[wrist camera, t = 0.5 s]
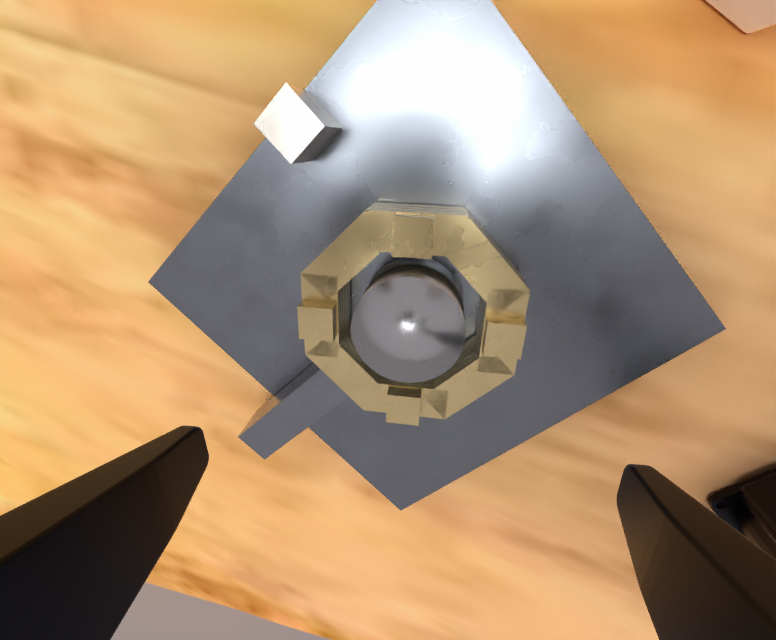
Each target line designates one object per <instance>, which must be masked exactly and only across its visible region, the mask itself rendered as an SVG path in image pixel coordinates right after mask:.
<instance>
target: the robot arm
mask: <svg viewBox="0 0 776 640" xmlns="http://www.w3.org/2000/svg"><path fill="white" fill-rule="evenodd" d="M208 460H209V454H208V450H207V446H206V442H205V438H204V434H203V431H202V429H201V428H199V427H195V426H180V427H178V428H176V429H174V430H172V431H170V432H168V433H166V434H164V435H162V436H160V437H158V438H156V439H154V440H152V441H150V442H148V443H146V444H144V445H142V446H140V447H138V448H136V449H134V450H132V451H130V452H128V453H126V454H124V455H122V456H120V457H118V458H116V459H114V460H112V461H110V462H108V463H106V464H104V465H102V466H100V467H98V468H96V469H94V470H92V471H90V472H88V473H86V474H83V475H81V476H79V477H77V478H75V479H73V480H71V481H69V482H67V483H65V484H63V485H61V486H59V487H57V488H55V489H53V490H51V491H49V492H47V493H45V494H43V495H41V496H39V497H37V498H35V499H33V500H31V501H29V502H27V503H25V504H23V505H21V506H19V507H17V508H15V509H13V510H11V511H9V512H7V513H5V514H3V515H1V516H0V640H110V639H111V638H112V636H113V634H114V633H115V631H116V629H117V628H118V626H119V624H120V623H121V621H122V619H123V618H124V616H125V614H126V613H127V611H128V609H129V608H130V606H131V604H132V602H133V601H134V599H135V598H136V596H137V594H138V593H139V591H140V589H141V587H142V586H143V584H144V583H145V581H146V579H147V578H148V576H149V574H150V573H151V571H152V569H153V568H154V566H155V564H156V563H157V561H158V559H159V558H160V556H161V554H162V553H163V551H164V549H165V548H166V546H167V544H168V543H169V541H170V539H171V538H172V536H173V534H174V532H175V531H176V529H177V527H178V525H179V523H180V521H181V519H182V517H183V515H184V513H185V511H186V509H187V507H188V505H189V502H190V500H191V498H192V496H193V494H194V492H195V490H196V488H197V486H198V484H199V482H200V480H201V478H202V475H203V473H204V471H205V469H206V467H207V464H208ZM708 504H709V505H710V507H711V508H712V509H713V511H714V512H715V513H716V514H717V515H718V516H717V515H715V514H714V513H713V512H711V511H710V510H709V509H707V508H706V507H705V506H703V505H702V504H701V503H699V502H698V501H697V500H695V499H694V498H693V497H691V496H690V495H689V494H687V493H686V492H685V491H683V490H682V489H681V488H679V487H678V486H677V485H675V484H674V483H673V482H671V481H670V480H669V479H667V478H666V477H665V476H663V475H662V474H661V473H659V472H658V471H657V470H655V469H654V468H652V467H650V466H647V465H635V464H629V465H627V466H626V467H625V469H624V471H623V475H622V479H621V482H620V486H619V489H618V493H617V507H618V511H619V515H620V518H621V522H622V526H623V529H624V533H625V537H626V540H627V544H628V548H629V551H630V555H631V559H632V562H633V566H634V570H635V573H636V577H637V580H638V583H639V587H640V590H641V593H642V595H643V598H644V601H645V604H646V606H647V609H648V612H649V614H650V617H651V619H652V622H653V625H654V627H655V630H656V632H657V635H658V637H659V640H776V469H775V470H772V471H770V472H767V473H765V474H763V475H760V476H758V477H755V478H753V479H751V480H748V481H746V482H743V483H741V484H739V485H736V486H734V487H731V488H729V489H727V490H724V491H722V492H719V493H717V494H715V495H712V496H711V497H709V499H708Z"/></svg>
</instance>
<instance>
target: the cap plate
mask: <svg viewBox="0 0 776 640" xmlns="http://www.w3.org/2000/svg"><path fill="white" fill-rule="evenodd" d="M254 125H255V126H256V127H257V128H258V129H259V130H260V131H261V132H262V133H263V134H264V135H265V137H266V138H265V139H264V140H263V141H262V143H261V144H260V145H259V146H258V148H257V149H256V150H255V151H254V152H253V154H252V155H251V156H250V157H249V159H248V160H247V161H246V162H245V164H244V165H243V166H242V167H241V168H240V170H239V171H238V172H237V173H236V175H235V176H234V177H233V178H232V180H231V181H230V182H229V183H228V184H227V186H226V187H225V188H224V189H223V191H222V192H221V193H220V194H219V196H218V197H217V198H216V199H215V200H214V202H213V203H212V204H211V205H210V207H209V208H208V209H207V210H206V212H205V213H204V214H203V215H202V216H201V218H200V219H199V220H198V221H197V223H196V224H195V225H194V226H193V228H192V229H191V230H190V231H189V232H188V234H187V235H186V236H185V237H184V239H183V240H182V241H181V242H180V243H179V245H178V246H177V247H176V248H175V250H174V251H173V252H172V253H171V255H170V256H169V257H168V258H167V259H166V261H165V262H164V263H163V264H162V266H161V267H160V268H159V269H158V271H157V272H156V273H155V274H154V275H153V277H152V278H151V279H150V280H149V283H150V284H151V285H152V286H153V287H154V288H155V289H157V290H158V291H159V292H160V293H161V294H162V295H163V296H164V297H165V298H166V299H168V300H169V301H170V302H171V303H172V304H173V305H174V306H175V307H176V308H178V309H179V310H180V311H181V312H182V313H183V314H184V315H185V316H186V317H187V318H189V319H190V320H191V321H192V322H193V323H194V324H195V325H196V326H197V327H199V328H200V329H201V330H202V331H203V332H204V333H205V334H206V335H207V336H208V337H210V338H211V339H212V340H213V341H214V342H215V343H216V344H217V345H218V346H220V347H221V348H222V349H223V350H224V351H225V352H226V353H227V354H228V355H229V356H231V357H232V358H233V359H234V360H235V361H236V362H237V363H238V364H239V365H240V366H242V367H243V368H244V369H245V370H246V371H247V372H248V373H249V374H250V375H252V376H253V377H254V378H255V379H256V380H257V381H258V382H259V383H260V384H261V385H263V386H264V387H265V388H266V389H267V390H268V391H269V392H270V393H271V394H273V395H274V396H275V395H276V394H277V393H278V392H280V391H281V390H282V389H283V388H284V387H286V386H287V385H288V384H289V383H290V382H292V381H293V380H294V379H295V378H296V377H298V376H299V375H300V374H301V373H302V372H304V371H305V370H306V369H307V368H308V367H310V366H311V365H312V364H313V363H314V362H313V361H311V360H310V359H309V358H308V357H307V356H306V355H305V342H304V339H299V328H298V312H297V306H298V305H299V304H300V303H301V302H302V291H301V274H300V273H301V272H302V271H303V270H304V269H306V268H307V267H308V266H309V265H310V264H311V263H312V262H313V261H314V260H315V259H316V258H317V257H318V256H319V255H320V254H321V253H322V252H323V251H324V250H325V249H326V248H327V247H328V246H329V245H330V244H331V243H332V242H333V241H334V240H335V239H336V238H337V237H338V236H339V235H340V234H341V233H342V232H343V231H344V230H345V229H347V228H348V227H349V226H350V225H351V224H352V223H353V222H354V221H355V220H356V219H357V218H358V217H359V216H360V215H361V214H362V213H363V212H364V211H365V210H366V209H367V208H369V207H370V206H371V205H372V204H374V203H375V202H386V203H405V204H424V205H443V206H461V207H466V208H467V209H468V211H469V212H470V213H471V214H472V215H473V217H474V218H475V219H476V220H477V221H478V223H479V224H480V225H481V226H482V227H483V229H484V230H485V231H486V232H487V233H488V235H489V236H490V237H491V238H492V239H493V241H494V242H495V243H496V244H497V245H498V247H499V248H500V249H501V250H502V251H503V253H504V254H505V255H506V256H507V257H508V259H509V260H510V261H511V262H512V263H513V265H514V266H515V267H516V268H517V269H518V271H519V272H520V273H521V275H522V277H523V278H524V280H525V282H526V284H527V286H528V287H529V289H530V295H529V300H528V305H527V311H526V316H525V322H526V324H527V329H526V334H525V340H524V345H523V350H522V355H521V359H517V364H516V369H515V375H514V376H512V377H511V378H509V379H508V380H506V381H504V382H503V383H501V384H500V385H498V386H497V387H495V388H493V389H492V390H490V391H489V392H487V393H486V394H484V395H482V396H481V397H479V398H478V399H476V400H475V401H473V402H471V403H470V404H468V405H467V406H465V407H464V408H462V409H461V410H459V411H457V412H456V413H454V414H453V415H451V416H450V417H448V418H446V419H437V418H428V417H419V426H415V425H407V424H398V423H389V422H386V413H384V412H375V411H366V410H363V409H362V408H361V407H360V406H359V405H358V404H356V403H355V402H354V401H353V400H352V399H351V398H350V397H347V398H346V399H345V400H343V401H342V402H341V403H339V404H338V405H337V406H335V407H334V408H333V409H331V410H330V411H329V412H327V413H326V414H325V415H323V416H322V417H321V418H319V419H318V420H317V421H315V422H314V423H313V424H311V425H310V426H309V428H310V429H311V430H312V431H313V432H315V433H316V434H317V435H318V436H319V437H320V438H321V439H322V440H323V441H324V442H326V443H327V444H328V445H329V446H330V447H331V448H332V449H333V450H334V451H336V452H337V453H338V454H339V455H340V456H341V457H342V458H343V459H344V460H345V461H347V462H348V463H349V464H350V465H351V466H352V467H353V468H354V469H355V470H357V471H358V472H359V473H360V474H361V475H362V476H363V477H364V478H365V479H366V480H368V481H369V482H370V483H371V484H372V485H373V486H374V487H375V488H376V489H378V490H379V491H380V492H381V493H382V494H383V495H384V496H385V497H386V498H387V499H389V500H390V501H391V502H392V503H393V504H394V505H395V506H396V507H397V508H399V509H400V510H403V509H404V508H406V507H408V506H410V505H412V504H413V503H415V502H417V501H419V500H420V499H422V498H424V497H426V496H428V495H429V494H431V493H433V492H435V491H437V490H438V489H440V488H442V487H444V486H446V485H447V484H449V483H451V482H453V481H454V480H456V479H458V478H460V477H462V476H463V475H465V474H467V473H469V472H471V471H472V470H474V469H476V468H478V467H480V466H481V465H483V464H485V463H487V462H488V461H490V460H492V459H494V458H496V457H497V456H499V455H501V454H503V453H505V452H506V451H508V450H510V449H512V448H514V447H515V446H517V445H519V444H521V443H523V442H524V441H526V440H528V439H530V438H531V437H533V436H535V435H537V434H539V433H540V432H542V431H544V430H546V429H548V428H549V427H551V426H553V425H555V424H557V423H558V422H560V421H562V420H564V419H565V418H567V417H569V416H571V415H573V414H574V413H576V412H578V411H580V410H582V409H583V408H585V407H587V406H589V405H591V404H592V403H594V402H596V401H598V400H599V399H601V398H603V397H605V396H607V395H608V394H610V393H612V392H614V391H616V390H617V389H619V388H621V387H623V386H625V385H626V384H628V383H630V382H632V381H633V380H635V379H637V378H639V377H641V376H642V375H644V374H646V373H648V372H650V371H651V370H653V369H655V368H657V367H659V366H660V365H662V364H664V363H666V362H668V361H669V360H671V359H673V358H675V357H676V356H678V355H680V354H682V353H684V352H685V351H687V350H689V349H691V348H693V347H694V346H696V345H698V344H700V343H702V342H703V341H705V340H707V339H709V338H710V337H712V336H714V335H716V334H718V333H719V332H721V331H723V330H725V329H726V328H725V327H724V325H723V324H722V323H721V321H720V320H719V318H718V317H717V316H716V314H715V313H714V311H713V310H712V309H711V307H710V306H709V304H708V303H707V302H706V300H705V299H704V297H703V296H702V295H701V293H700V292H699V291H698V289H697V288H696V286H695V285H694V284H693V282H692V281H691V279H690V278H689V277H688V275H687V274H686V272H685V271H684V270H683V268H682V267H681V265H680V264H679V263H678V261H677V260H676V258H675V257H674V256H673V254H672V253H671V251H670V250H669V249H668V247H667V246H666V244H665V243H664V242H663V240H662V239H661V237H660V236H659V235H658V233H657V232H656V230H655V229H654V228H653V226H652V225H651V223H650V222H649V221H648V219H647V218H646V216H645V215H644V214H643V212H642V211H641V209H640V208H639V207H638V205H637V204H636V202H635V201H634V200H633V198H632V197H631V195H630V194H629V193H628V191H627V190H626V188H625V187H624V186H623V184H622V183H621V181H620V180H619V179H618V177H617V176H616V174H615V173H614V172H613V170H612V169H611V167H610V166H609V165H608V163H607V162H606V160H605V159H604V158H603V156H602V155H601V153H600V152H599V151H598V149H597V148H596V147H595V145H594V144H593V142H592V141H591V140H590V138H589V137H588V135H587V134H586V133H585V131H584V130H583V128H582V127H581V126H580V124H579V123H578V121H577V120H576V119H575V117H574V116H573V114H572V113H571V112H570V110H569V109H568V107H567V106H566V105H565V103H564V102H563V100H562V99H561V98H560V96H559V95H558V93H557V92H556V91H555V89H554V88H553V86H552V85H551V84H550V82H549V81H548V79H547V78H546V77H545V75H544V74H543V72H542V71H541V70H540V68H539V67H538V65H537V64H536V63H535V61H534V60H533V58H532V57H531V56H530V54H529V53H528V51H527V50H526V49H525V47H524V46H523V44H522V43H521V42H520V40H519V39H518V37H517V36H516V35H515V33H514V32H513V30H512V29H511V28H510V26H509V25H508V23H507V22H506V21H505V19H504V18H503V16H502V15H501V14H500V12H499V11H498V10H497V8H496V7H495V5H494V4H493V3H492V1H491V0H377V1H376V2H375V4H374V5H373V6H372V7H371V8H370V10H369V11H368V12H367V13H366V15H365V16H364V17H363V18H362V20H361V21H360V22H359V23H358V24H357V26H356V27H355V28H354V29H353V31H352V32H351V33H350V34H349V36H348V37H347V38H346V39H345V40H344V42H343V43H342V44H341V45H340V47H339V48H338V49H337V50H336V52H335V53H334V54H333V55H332V56H331V58H330V59H329V60H328V61H327V63H326V64H325V65H324V66H323V68H322V69H321V70H320V71H319V72H318V74H317V75H316V76H315V77H314V79H313V80H312V81H311V82H310V84H309V85H308V86H307V87H306V88H305V89H302V88H300V87H297V86H294V85H291V84H289V83H285V84H284V86H283V87H282V88H281V89H280V91H279V92H278V93H277V95H276V96H275V97H274V98H273V100H272V101H271V102H270V103H269V105H268V106H267V107H266V109H265V110H264V111H263V112H262V114H261V115H260V116H259V117H258V119H257V120H256V121H255V123H254ZM480 299H481V296H480V295H479V293H478V292H477V291H476V290H475V289H474V288H473V287H472V285H471V284H470V283H469V282H468V281H467V280H466V279H465V277H464V276H463V275H462V274H461V273H460V272H459V271H458V269H457V268H456V267H455V266H454V265H453V264H452V263H451V261H450V260H449V259H448V258H447V257H446V256H435V255H432V259H421V258H407V257H392V253H390V252H381V253H380V254H378V255H377V256H376V257H375V258H374V259H373V260H372V261H371V262H370V263H368V264H367V265H366V266H365V267H364V268H363V269H362V270H361V271H360V272H358V273H357V274H356V275H355V276H354V277H353V278H352V279H351V280H350V324H351V336H352V340H353V344H354V346H355V349H356V351H357V353H358V354H359V356H360V357H361V359H362V360H363V361H364V362H365V363H366V365H368V366H369V367H370V368H371V369H372V370H374V371H375V372H376V373H378V374H380V375H382V376H383V377H386V378H388V379H391V380H395V381H399V382H406V383H415V382H423V381H427V380H431V379H433V378H436V377H438V376H440V375H441V374H443V373H445V372H446V371H447V370H448V369H450V368H451V367H452V366H453V365H454V364H455V362H456V361H457V359H458V358H459V356H460V354H461V352H462V350H463V347H464V343H465V342H466V341H468V340H469V339H470V338H472V337H473V336H475V335H476V329H477V321H478V314H479V307H480Z"/></svg>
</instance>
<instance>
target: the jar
mask: <svg viewBox="0 0 776 640" xmlns="http://www.w3.org/2000/svg"><path fill="white" fill-rule="evenodd" d="M705 1H707V2H708V3H709V4H710V5H712V6H713V7H714V8H715V9H716V10H718V11H719V12H720V13H721V14H722V15H724V16H725V17H726V18H727V19H729V20H730V21H731V22H732V23H733V24H735V25H736V26H737V27H738V28H740V29H741V30H742V31H743V32H745V33H753V32H756V31H759V30H762V29H765V28H767V27H770V26H773V25H776V0H705Z"/></svg>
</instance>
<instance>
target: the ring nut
mask: <svg viewBox="0 0 776 640" xmlns="http://www.w3.org/2000/svg"><path fill="white" fill-rule="evenodd" d="M381 252H390V253H392V257H407V258H421V259H432V255H435V256H446V257H447V258H448V259H449V260H450V261H451V263H452V264H453V265H454V266H455V267H456V268H457V269H458V271H459V272H460V273H461V274H462V275H463V276H464V277H465V279H466V280H467V281H468V282H469V283H470V284H471V285H472V287H473V288H474V289H475V290H476V291H477V292H478V293H479V295H480V296H481V299H480V307H479V314H478V321H477V329H476V335H475V336H473V337H472V338H470V339H469V340H468V341H466V342H465V343H464V347H463V350H462V352H461V354H460V356H459V358H458V359H457V361H456V362H455V364H454V365H453V366H452V367H451V368H450V369H448V370H447V371H446V372H445V373H443V374H441V375H440V376H438V377H436V378H433V379H431V380H427V381H423V382H415V383H406V382H399V381H395V380H391V379H388V378H386V377H383V376H382V375H380V374H378V373H376V372H375V371H374V370H372V369H371V368H370V367H369V366H368V365H366V363H365V362H364V361H363V360H362V359H361V357H360V356H359V354H358V353H357V351H356V349H355V346H354V344H353V340H352V336H351V324H350V280H351V279H352V278H353V277H354V276H355V275H356V274H357V273H358V272H360V271H361V270H362V269H363V268H364V267H365V266H366V265H367V264H368V263H370V262H371V261H372V260H373V259H374V258H375V257H376V256H377V255H378V254H380V253H381ZM300 274H301V291H302V302H301V303H300V304H299V305H298V306H297V312H298V328H299V339H304V342H305V355H306V356H307V357H308V358H309V359H310V360H311V361H313V362H314V363H313V364H312V365H311V366H310V367H308V368H307V369H306V370H305V371H304V372H302V373H301V374H300V375H299V376H298V377H296V378H295V379H294V380H293V381H292V382H290V383H289V384H288V385H287V386H286V387H284V388H283V389H282V390H281V391H280V392H278V393H277V394H276V395H275V396H274V397H272V398H271V399H270V400H269V401H268V402H266V403H265V404H264V405H263V406H262V407H260V408H259V409H258V410H257V411H256V413H255V414H254V415H253V417H252V418H251V420H250V421H249V422H248V424H247V425H246V427H245V428H244V429H243V431H242V432H241V433H240V435H239V436H238V437H239V438H240V439H241V440H242V441H243V442H245V443H246V444H247V445H248V446H249V447H251V448H252V449H253V450H254V451H255V452H256V453H258V454H259V455H260V456H261V457H262V458H263V459H266V458H267V457H269V456H270V455H271V454H273V453H274V452H275V451H277V450H278V449H279V448H281V447H282V446H283V445H285V444H286V443H287V442H289V441H290V440H291V439H293V438H294V437H295V436H297V435H298V434H299V433H301V432H302V431H303V430H305V429H306V428H307V427H309V426H310V425H311V424H313V423H314V422H315V421H317V420H318V419H319V418H321V417H322V416H323V415H325V414H326V413H327V412H329V411H330V410H331V409H333V408H334V407H335V406H337V405H338V404H339V403H341V402H342V401H343V400H345V399H346V398H347V397H350V398H351V399H352V400H353V401H354V402H355V403H356V404H358V405H359V406H360V407H361V408H362V409H363V410H366V411H375V412H384V413H386V422H389V423H398V424H407V425H415V426H419V417H428V418H437V419H446V418H448V417H450V416H451V415H453V414H454V413H456V412H457V411H459V410H461V409H462V408H464V407H465V406H467V405H468V404H470V403H471V402H473V401H475V400H476V399H478V398H479V397H481V396H482V395H484V394H486V393H487V392H489V391H490V390H492V389H493V388H495V387H497V386H498V385H500V384H501V383H503V382H504V381H506V380H508V379H509V378H511V377H512V376H514V375H515V369H516V364H517V359H521V355H522V350H523V345H524V340H525V334H526V329H527V324H526V322H525V316H526V311H527V305H528V300H529V295H530V289H529V287H528V286H527V284H526V282H525V280H524V278H523V277H522V275H521V273H520V272H519V271H518V269H517V268H516V267H515V266H514V265H513V263H512V262H511V261H510V260H509V259H508V257H507V256H506V255H505V254H504V253H503V251H502V250H501V249H500V248H499V247H498V245H497V244H496V243H495V242H494V241H493V239H492V238H491V237H490V236H489V235H488V233H487V232H486V231H485V230H484V229H483V227H482V226H481V225H480V224H479V223H478V221H477V220H476V219H475V218H474V217H473V215H472V214H471V213H470V212H469V211H468V209H467V208H466V207H461V206H443V205H424V204H405V203H386V202H375V203H374V204H372V205H371V206H370V207H369V208H367V209H366V210H365V211H364V212H363V213H362V214H361V215H360V216H359V217H358V218H357V219H356V220H355V221H354V222H353V223H352V224H351V225H350V226H349V227H348V228H347V229H345V230H344V231H343V232H342V233H341V234H340V235H339V236H338V237H337V238H336V239H335V240H334V241H333V242H332V243H331V244H330V245H329V246H328V247H327V248H326V249H325V250H324V251H323V252H322V253H321V254H320V255H319V256H318V257H317V258H316V259H315V260H314V261H313V262H312V263H311V264H310V265H309V266H308V267H307V268H306V269H304V270H303V271H302V272H301V273H300Z"/></svg>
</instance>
